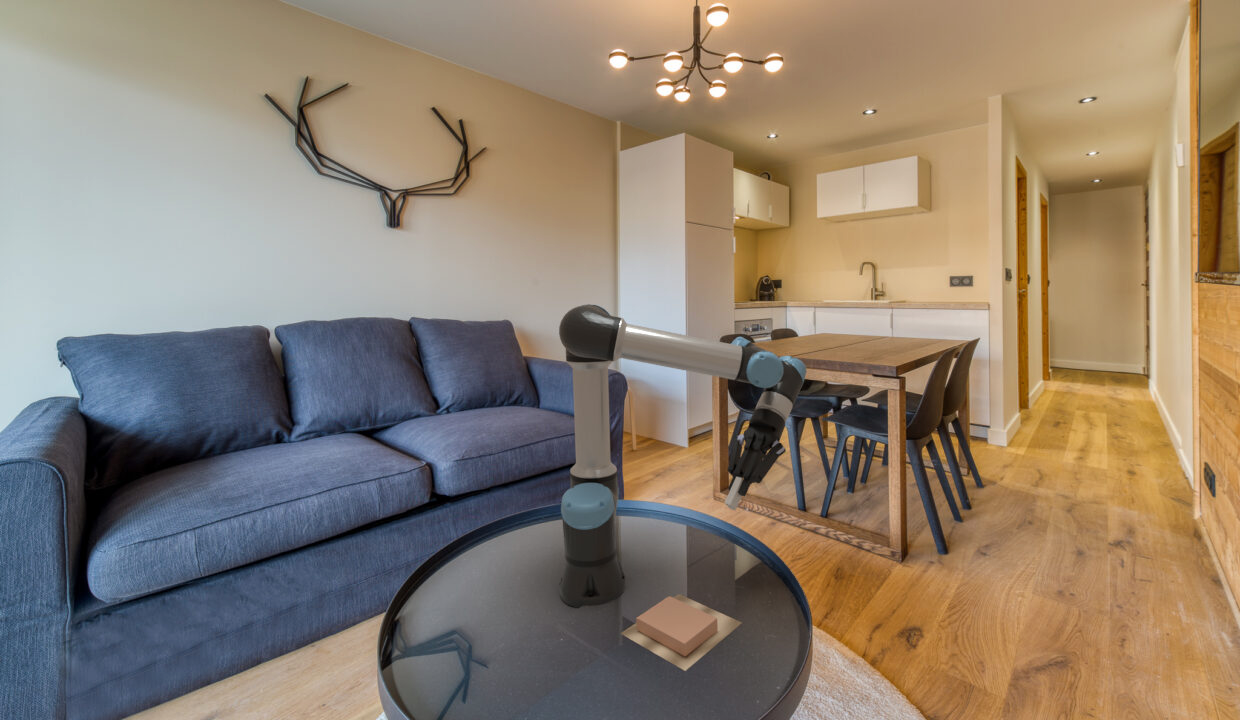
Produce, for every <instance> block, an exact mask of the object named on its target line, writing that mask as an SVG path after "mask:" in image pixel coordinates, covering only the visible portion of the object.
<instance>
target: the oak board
mask: <svg viewBox="0 0 1240 720" xmlns="http://www.w3.org/2000/svg"><path fill="white" fill-rule="evenodd" d="M673 598H675V599H677V600H679V601H681V602H684V603H686V604H688V605H690V606H692V607H694V608H696V609H699V610H701V611H703V612H705V613H707V614H709V615H711V616H714V617H716V618H717V625H718V630H717V631H716V632H715V633H714V634H713V635H711V636H710V637H709V638H708V639H706V640H705V641H704V642H703V643H701V644H700V645H699V646H698V647H697V648H695V649H694V650H693V651H692V652H690V653H689V654H688V655H687V656H686V657H685V656H683V655H681V654H680V653H678V652H676V651H674V650H672V649H671V648H669V647H667V646H665V645H663V644H662V643H660V642H658V641H656V640H654V639H653V638H651V637H649V636H647V635H645V634H644V633H642V632H640V631H638V630H637V622H635V623H633V624H632V625H630V627H628V628H627V629H625V630H623V631H622V632H621V633H620V635H622V636H624V637H626V638H627V639H629V640H631V641H632V642H634V643H636V644H637V645H639V646H641V647H643V648H644V649H646V650H648V651H649V652H652V653H653V654H654V655H656V656H659V657H660V658H662V659H663V660H665V661H667V662H669V663H670V664H672V665H673V666H675V667H678V668H679V669H681V670H683V671H684V672H687V670H689V669H690V668H691V667H692V666H693V665H694V664H695V663H697V662H698V661H699V660H701V658H703V657H704V656H705V655H707V653H708V652H709V651H711V650H713V648H715V647H716V646H717V645H718V644H719V643H720V642H721V641H722V640H724V639H725V638H727V636H728V635H730V634H731V633H732V632H733V631H735V630H736V629H737V628H738V627H739V626H741V624H743V622H741V621H739V620H737V619H735V618H732V617H730V616H729V615H726V614H724V613H721V612H719V611H717V610H715V609H713V608H710V607H708V606H706V605H704V604H702V603H700V602H698V601H696V600H693V599H691V598H688V597H686V596H684V595H682V594H677V595H675V596H674V597H673Z"/></svg>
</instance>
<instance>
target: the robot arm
mask: <svg viewBox="0 0 1240 720" xmlns="http://www.w3.org/2000/svg"><path fill="white" fill-rule="evenodd" d="M558 328H559V329H558V335H559V336H558V337H559V339H560V341H561V344H562V346H563V347H564V348H565V362H566V363H567V364H568V365H569V366H570V367H571V368H572V384H573V385H572V388H573V389H572V390H573V411H574V412H573V413H574V414H573V415H574V418H573V419H574V439H575V441H574V442H575V445H574V447H575V464H574V465H573V466H572V467H571V468H570V471H569V472H570V473H569V474H570V475H569V476H570V477H569V479H570V488H568V489H567V490H566V491H565V492H564V494H562V495H563V496H561V497H562V498H561V505H560V513H561V518H562V520H561V521H562V531H563V545H564V556H565V557H564V558H565V563H564V566H563V572H562V577H561V579H560V582H559V593H560V594H559V595H560V598H561V600H562V601H563V602H564V603H565V604H567V605H568V606H571V607H573V608H577V609H579V608H582V607H583V606H586V607H587V606H589V607H590V606H591V607H592V606H598V605H604V604H608V603H610V602H613V601H614V600H616V599H618V598H619V597H621V595H622V594H624V592H625V590H626V588H627V578H626V575H625V573H624V571H623V567H622V565H621V563H620V560H619V558H618V554H617V541H616V540H617V539H616V515H617V508H618V504H619V503H618V501H619V499H620V498H619V497H620V487H619V483H618V469H617V466H616V465H615V464H614V463H612V461H611V435H610V434H611V432H610V431H611V429H610V395H609V367H610V365H611V364H612V363H614V362H616V361H618V360H619V359H623V360H628V361H635V362H639V363H644V364H651V365H655V366H660V367H664V368H666V367H667V368H671V369H675V370H681V371H687V372H692V373H697V374H702V375H706V376H707V375H708V376H712V377H718V378H721V379H722V378H724V379H727V380H733V381H737V382H742V383H747V384H751V385H753V386H754V387H758V388H761V389H763V391H762V393H761V394H760V395H761V396H760V398H759V399H758V401H757V404H756V406H755V410H754V411H753V412H752V414H751V417H750V419H749V422H748V427H747V428H746V429H745V430H744V431H743V433H742V434H739V435H737V434H733V435H732V436H731V437H732V447H731V452H730V456H729V460H728V465H727V472H728V473H729V474H730V475H731V477H732V478H731V481H730V483H729V485H728V491H729V492H728V494H727V496H726V499H725V500H724V504H725V506H726V507H727V508H728V509H729V510H732V511H734V512H735V511H736V510H737V509H738V506H739V504H740V502H741V499H742V497H745V496H747V493H748V491H749V488H750V486H751V485H752V484H754V483H756V484H761V482H762V481H763V480H764V479H765V477H766V475H767V474H768V472H769V471H770V470H771V468H772V467H773V466H774V464H775V463H776V462H777V460H778V459H779V457H781V456H782V455H783V454H784V453H786V451H787V450H786V447H784V445H783V444H782V442H780V436H782V434H783V431H784V428H785V425H786V423H787V421H788V418H789V417H790V414H791V412H792V409H793V406H794V405H795V402H796V400H797V398H798V396H799V393H800V390H801V388H802V387H803V385H804V382H805V379H806V375H807V372H808V371H807V366H806V365H805V364H804V362H803V361H802V360H800V359H799V358H797V357H793V356H792V355H783V356H780V357H778V355H777V354H775V353H774V352H772V351H769V350H766V349H764V348H761V347H760V346H758V345H756V344H755V343H753V342H752V341H750V340H748V339H746V338H745V337H743V336H738V337H736V338H735V339H733V341H732V342H731V343H727V342H723V341H718V340H717V341H715V340H711V339H707V338H702V337H696V336H692V335H686V334H682V333H677V332H671V331H666V330H661V329H656V328H655V329H654V328H649V327H646V326H640V325H634V324H629V323H627V321H625V319H624V318H623V317H618V316H613V315H611V314H610V312H609V311H607V310H606V309H605V308H604V307H602V306H600V305H597V304H589V303H588V304H582V305H580V306H575V307H573V308H571V309H570V310H568V312H566V313H565V314H564V315H563V317H562V319H561V321H560V323H559V327H558ZM744 443H745V444H744Z"/></svg>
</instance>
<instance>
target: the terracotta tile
mask: <svg viewBox="0 0 1240 720" xmlns="http://www.w3.org/2000/svg"><path fill="white" fill-rule="evenodd" d="M635 619H636V623H637V630H638V631H640V632H642V633H644V634H645V635H647V636H649V637H651V638H653V639H654V640H656V641H658V642H660V643H662V644H663V645H665V646H667V647H669V648H671V649H672V650H674V651H676V652H678V653H680V654H681V655H683V656H685V657H686V656H687V655H688V654H689V653H690V652H692V651H693V650H694V649H695V648H697V647H698V646H699V645H700V644H701V643H703V642H704V641H705V640H706V639H708V638H709V637H710V636H711V635H713V634H714V633H715V632H716V631H717V630H718V625H717V618H716V617H714V616H711V615H709V614H707V613H705V612H703V611H701V610H699V609H696V608H694V607H692V606H690V605H688V604H686V603H684V602H681V601H679V600H677V599H675V598H674V597H673V596H671V595H669V596H667V597H665V598H664V599H663V600H660V602H658V603H657V604H655V605H654V606H652V607H650V608H649V609H647V610H646V611H645V612H643V613H642V614H640V615H639V616H637V617H636V618H635Z"/></svg>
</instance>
